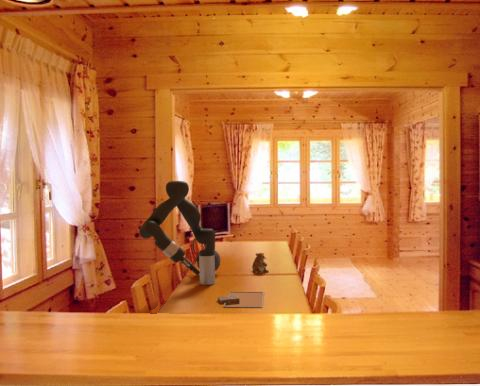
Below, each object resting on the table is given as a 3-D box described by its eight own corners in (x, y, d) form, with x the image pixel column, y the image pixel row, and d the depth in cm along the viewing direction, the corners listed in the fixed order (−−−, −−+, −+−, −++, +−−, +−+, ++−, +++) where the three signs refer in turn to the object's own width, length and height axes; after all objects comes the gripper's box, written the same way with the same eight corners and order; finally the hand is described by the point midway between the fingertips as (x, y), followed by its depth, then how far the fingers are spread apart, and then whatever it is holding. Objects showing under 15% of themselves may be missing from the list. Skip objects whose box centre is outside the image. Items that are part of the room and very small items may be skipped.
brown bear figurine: (256, 274, 279) (256, 254, 278) (248, 270, 292) (247, 251, 291) (270, 273, 282) (269, 253, 282) (261, 269, 296) (260, 250, 295)
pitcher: (218, 276, 274) (217, 230, 273) (190, 276, 277) (189, 230, 277) (222, 273, 285) (221, 228, 284) (194, 272, 288) (193, 228, 287)
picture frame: (262, 309, 205) (264, 293, 233) (262, 306, 205) (264, 291, 233) (223, 308, 207) (229, 293, 235) (223, 306, 207) (229, 291, 234)
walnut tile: (220, 300, 213) (239, 298, 216) (217, 297, 219) (236, 295, 222) (220, 304, 213) (239, 302, 216) (217, 301, 219) (236, 299, 222)
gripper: (180, 247, 204) (206, 270, 208) (176, 243, 216) (201, 265, 221) (170, 259, 202) (196, 282, 207) (166, 254, 215) (191, 276, 219)
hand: (198, 273), depth 214 cm, fingers closed
